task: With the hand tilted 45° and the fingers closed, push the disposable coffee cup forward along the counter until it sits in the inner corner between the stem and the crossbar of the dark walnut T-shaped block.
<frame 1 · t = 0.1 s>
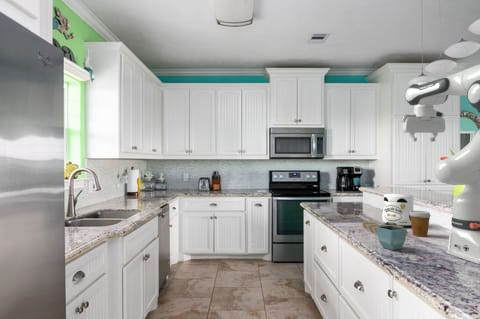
hand: (423, 141, 157), 48 cm above the counter, tool pointing down, fingers open, 8 cm apart
flower pot: (391, 248, 134), on the counter
milk container: (398, 225, 182), on the counter
walnut T block: (382, 231, 166), on the counter
disposable coffee cup: (419, 235, 157), on the counter
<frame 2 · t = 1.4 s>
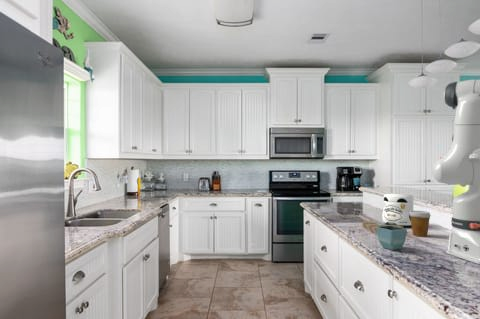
hand: (454, 184, 158), 26 cm above the counter, tool tilted 45°, fingers open, 8 cm apart
nothing on the counter moved.
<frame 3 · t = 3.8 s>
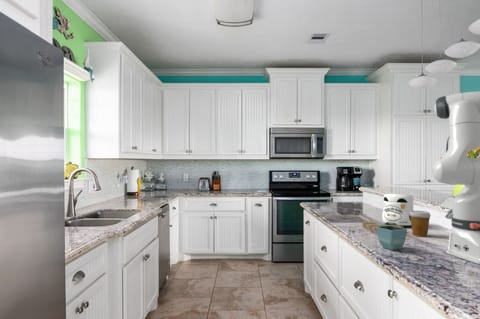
hand: (447, 218, 157), 9 cm above the counter, tool tilted 45°, fingers closed
nothing on the counter moved.
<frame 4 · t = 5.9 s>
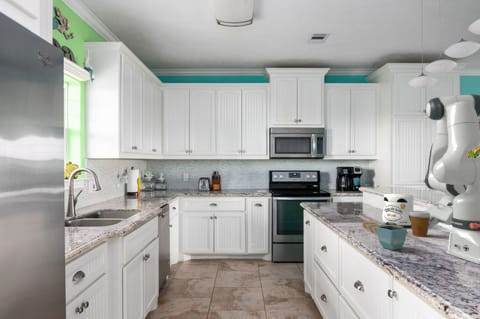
hand: (428, 226, 157), 5 cm above the counter, tool tilted 45°, fingers closed, pressing on disposable coffee cup
disposable coffee cup: (419, 235, 157), on the counter, touching gripper
everything else where it was.
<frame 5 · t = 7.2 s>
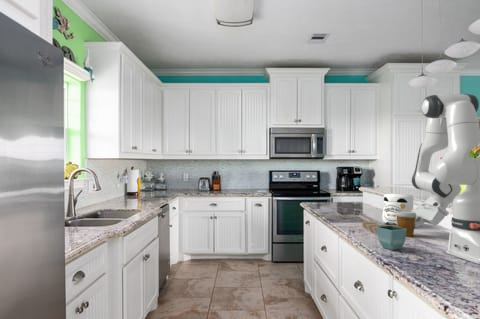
hand: (414, 225, 157), 5 cm above the counter, tool tilted 45°, fingers closed, pressing on disposable coffee cup
disposable coffee cup: (405, 235, 157), on the counter, touching gripper
everything else where it was.
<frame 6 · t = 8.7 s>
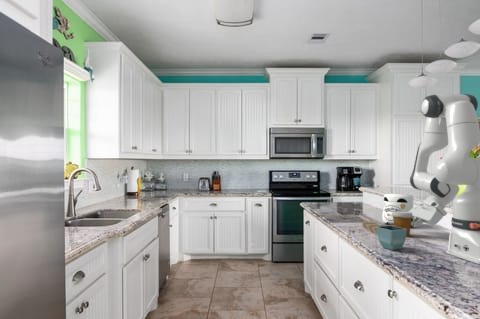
hand: (412, 225, 157), 5 cm above the counter, tool tilted 45°, fingers closed
disposable coffee cup: (402, 235, 157), on the counter
everything else where it was.
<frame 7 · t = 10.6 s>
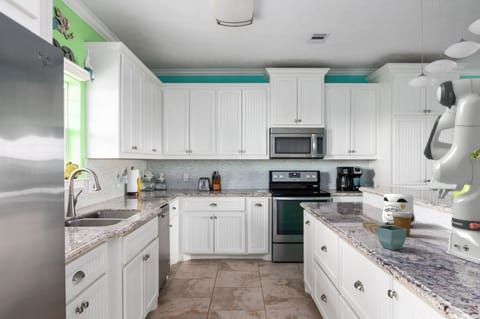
hand: (440, 198, 159), 19 cm above the counter, tool tilted 25°, fingers closed
nothing on the counter moved.
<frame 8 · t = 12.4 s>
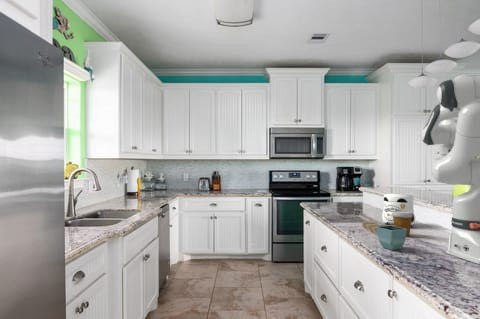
hand: (449, 178, 158), 29 cm above the counter, tool pointing down, fingers closed
nothing on the counter moved.
at the end: disposable coffee cup inside the target area on the walnut T block (0.8 cm from its centre), point 0.0 cm above the walnut T block's base; disposable coffee cup tilted 0°; milk container moved 0.2 cm from its start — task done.
